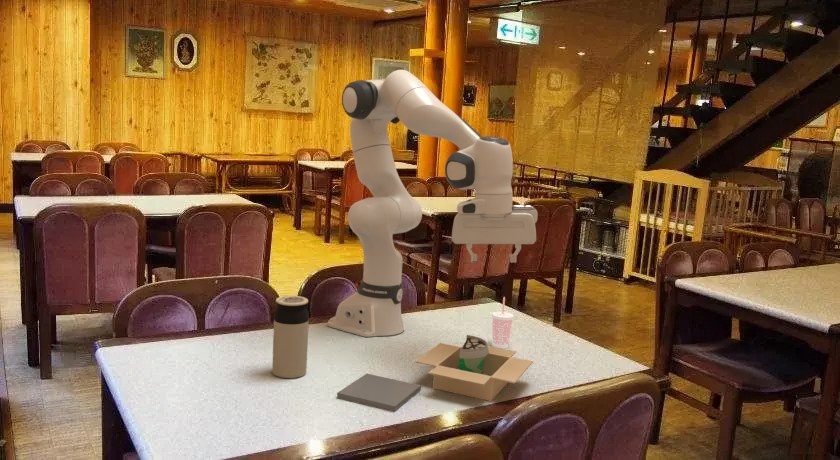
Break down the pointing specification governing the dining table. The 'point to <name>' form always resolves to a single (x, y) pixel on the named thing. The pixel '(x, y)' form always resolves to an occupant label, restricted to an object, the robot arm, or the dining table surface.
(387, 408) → the slate board
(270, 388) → the dining table surface
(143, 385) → the dining table surface
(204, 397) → the dining table surface
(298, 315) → the travel mug
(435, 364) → the carton
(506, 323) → the beverage cup
